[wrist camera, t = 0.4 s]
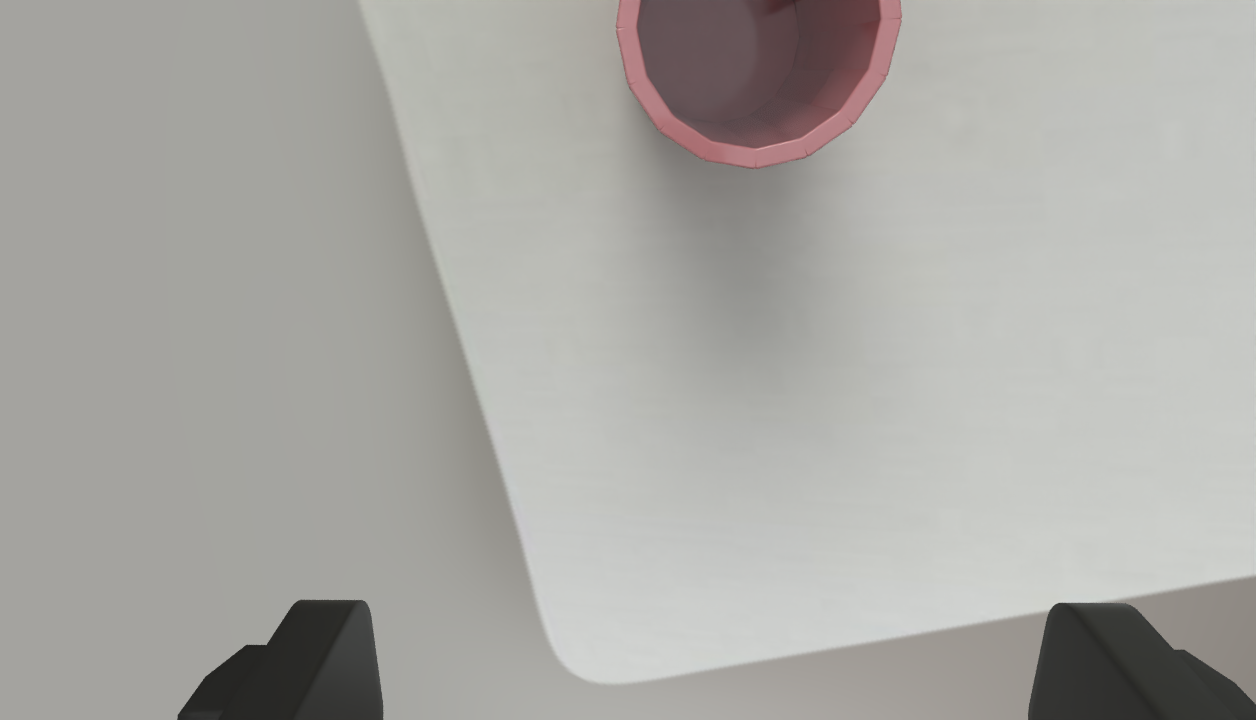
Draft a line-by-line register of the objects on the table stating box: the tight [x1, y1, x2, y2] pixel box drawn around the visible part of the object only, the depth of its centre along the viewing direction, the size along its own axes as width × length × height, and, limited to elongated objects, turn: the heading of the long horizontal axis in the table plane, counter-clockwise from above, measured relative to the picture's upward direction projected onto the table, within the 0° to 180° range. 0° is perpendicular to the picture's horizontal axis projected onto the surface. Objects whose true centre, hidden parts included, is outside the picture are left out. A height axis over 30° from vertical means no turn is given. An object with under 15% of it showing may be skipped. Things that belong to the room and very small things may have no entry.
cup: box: [616, 0, 902, 169], centre depth 22 cm, size 6×6×10 cm
